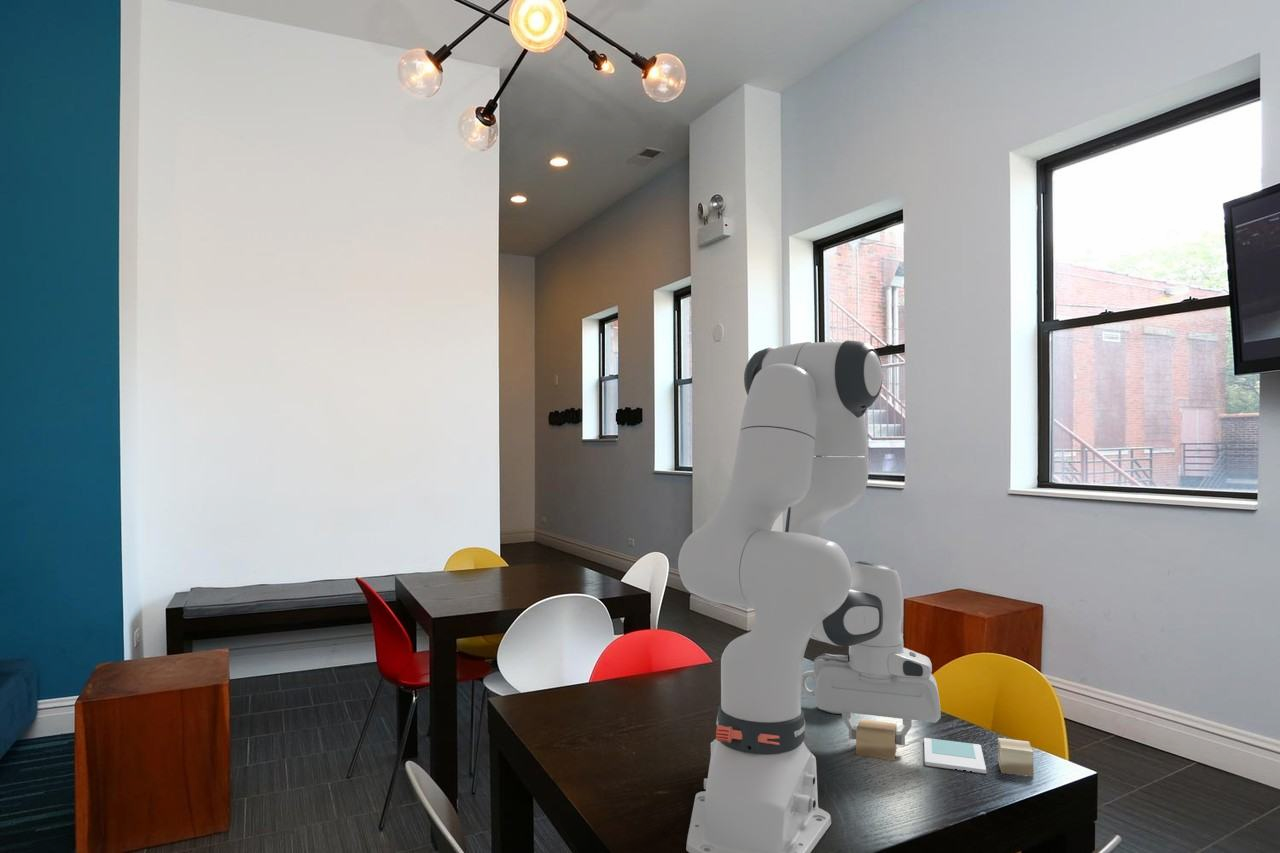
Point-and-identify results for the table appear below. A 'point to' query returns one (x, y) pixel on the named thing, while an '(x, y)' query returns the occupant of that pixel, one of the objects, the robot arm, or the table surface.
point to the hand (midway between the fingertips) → (876, 741)
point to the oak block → (876, 739)
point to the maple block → (1015, 757)
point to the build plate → (954, 755)
